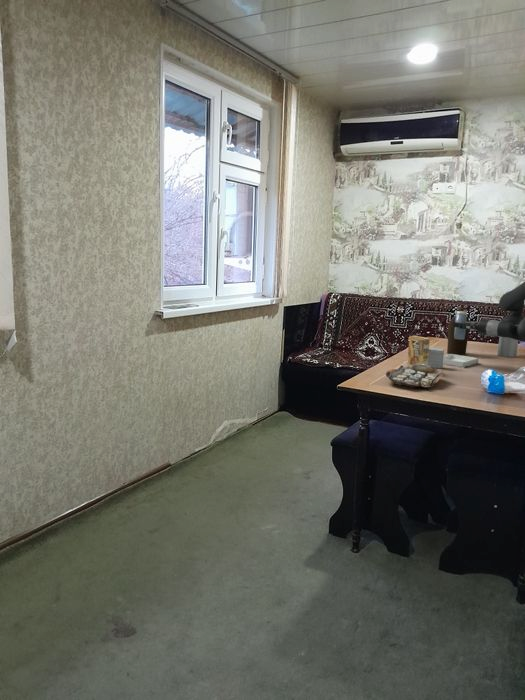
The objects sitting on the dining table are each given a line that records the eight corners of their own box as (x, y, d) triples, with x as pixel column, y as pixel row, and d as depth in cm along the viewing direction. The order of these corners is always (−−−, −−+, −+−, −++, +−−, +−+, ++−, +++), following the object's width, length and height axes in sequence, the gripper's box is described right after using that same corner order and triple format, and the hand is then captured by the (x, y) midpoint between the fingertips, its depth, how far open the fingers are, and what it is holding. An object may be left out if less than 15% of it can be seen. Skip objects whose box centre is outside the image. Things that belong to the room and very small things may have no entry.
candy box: (427, 371, 239) (430, 338, 237) (421, 372, 237) (424, 338, 234) (412, 367, 247) (415, 335, 244) (406, 368, 244) (408, 335, 241)
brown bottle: (452, 356, 277) (457, 308, 272) (442, 352, 287) (446, 306, 282) (470, 355, 279) (475, 308, 274) (459, 351, 289) (463, 306, 284)
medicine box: (442, 367, 249) (444, 349, 248) (441, 369, 245) (443, 350, 244) (425, 365, 252) (427, 347, 251) (424, 367, 248) (425, 349, 247)
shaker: (456, 337, 260) (459, 310, 258) (466, 338, 257) (469, 311, 254) (452, 338, 257) (454, 311, 254) (461, 339, 253) (464, 312, 251)
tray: (450, 358, 270) (451, 353, 269) (477, 363, 260) (478, 358, 259) (435, 362, 259) (436, 357, 258) (463, 367, 249) (463, 362, 248)
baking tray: (434, 395, 201) (435, 382, 200) (378, 386, 211) (379, 373, 210) (447, 379, 227) (448, 366, 226) (397, 371, 237) (398, 360, 236)
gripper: (497, 318, 250) (462, 315, 262) (484, 321, 240) (449, 317, 252) (495, 334, 251) (461, 330, 263) (483, 337, 241) (447, 332, 253)
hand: (455, 323), depth 257 cm, fingers closed on shaker, 5 cm apart
